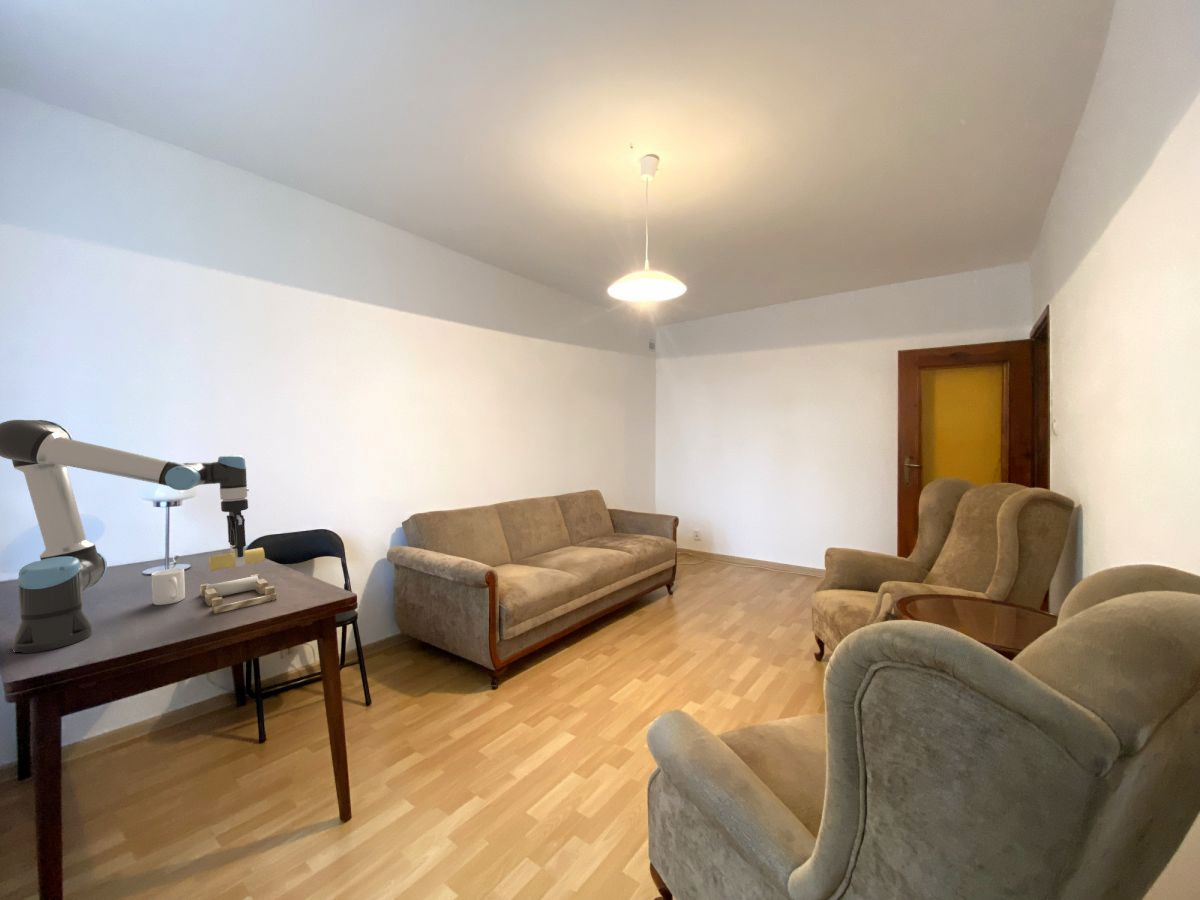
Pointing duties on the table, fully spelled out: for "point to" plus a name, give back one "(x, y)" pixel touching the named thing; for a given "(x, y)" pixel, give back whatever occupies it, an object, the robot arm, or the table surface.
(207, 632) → the table surface
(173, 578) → the mug
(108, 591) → the table surface
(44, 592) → the robot arm
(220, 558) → the yellow cylinder
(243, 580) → the white cylinder
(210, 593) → the wooden rack
